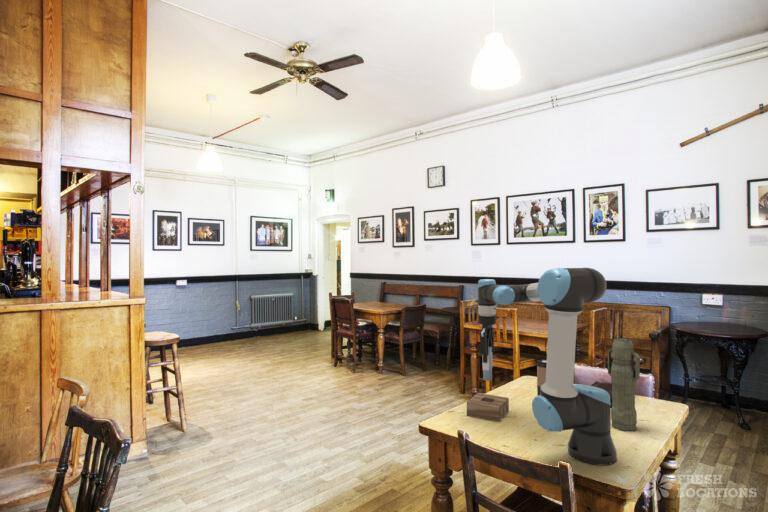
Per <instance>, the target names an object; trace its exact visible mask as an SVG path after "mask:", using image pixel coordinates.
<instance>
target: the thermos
mask: <svg viewBox="0 0 768 512" xmlns="http://www.w3.org/2000/svg"><path fill="white" fill-rule="evenodd" d="M611 347H612V348H610V349H608V350H607V353H606V354H607V357H606V358H607V374H608V375H609V376H610V383H612V408H611V427H612V428H613V429H615V430H617V429H618V431H621V432H626V431H633V432H636V431H637V418H638V416H637V415H638V413H637V409H636V394H635V393H636V389H635V388H636V385H637V380H639V379H640V378H641V375H640V370H641V368H640V367H641V365H640V364H641V357H640V355H639V354H638V353H637V352H635V347H634V343H633V341H632V340H631V339H630V338H626V337H625V338H623V337H617V338H615V339H613V342H612V346H611ZM634 361H635V363H634ZM635 430H636V431H635Z"/></svg>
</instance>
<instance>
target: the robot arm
mask: <svg viewBox="0 0 768 512" xmlns="http://www.w3.org/2000/svg"><path fill="white" fill-rule="evenodd" d="M477 283H478V284H477V313H478V315H477V317H478V320H477V323H478V324H479V325H481V326H482V327H481V329H480V330H481V331H479V332H478V334H479V346H480V348H479V350H480V352H479V353H480V355H481V356H482V371H483V370H489V355H488V348H489V347H492V354H495V327H493V325H494V326H495V325H496V324H497V316H496V314H497V310H498V307H497V305H498V304H499V305H501V306H503V305H504V306H508V305H510V304H518V303H519V304H522V303H536V302H537V303H538V302H541V303H542V304H543V305H544V306H543V307H544V309H545V311H547V313H548V328H547V330H548V331H547V345H546V346H547V347H546V348H547V349H546V359H547V364H546V382H545V383H544V384H543V385H541V390H540V395H538V394H537V395H536V396H534V398H533V399H532V402H531V409H532V413H533V416H534V418H535V420H536V423H537V424H538V425H539V426H540V427H541V428H542V429H543V430H545V431H546V432H549V433H553V432H554V433H555V432H557V433H560V432H562V431H567V430H572V432H571V434H570V438H569V441H568V443H567V453H568V455H570V456H571V457H572V458H574V459H575V460H578V461H580V462H584V463H586V464H590V463H591V465H596V464H608V465H611V464H610V463H612V464H614V463H616V462H615V461H617V459H618V458H617V457H618V456H617V455H618V454H617V450H616V447H615V444H614V441H613V438H612V432H611V429H612V428H611V427H612V420H611V403H610V395H609V393H608V392H607V391H605V390H603V389H601V388H598V387H594V386H591V385H589V384H588V385H587V384H581V383H579V384H574V383H575V380H574V379H575V364H576V363H575V362H576V348H577V347H576V343H577V328H578V327H577V326H578V325H577V324H578V316H579V315H581V313H582V312H583V311H584V304H586V303H587V304H589V303H594V302H596V301H598V300H600V299H602V297H603V296H604V294H606V291H607V280H606V278H605V276H604V275H603V274H602V273H601V272H600V271H598V270H597V269H595V268H591V267H557V268H551V269H548V270H546V271H544V273H543V274H541V275H540V278H539V279H538V282H533V283H527V284H507V285H504V284H503V285H501V284H499V285H497V283H496V280H495V279H492V278H491V279H489V278H485V279H483V278H482V279H479V280H478V281H477ZM613 462H614V463H613Z"/></svg>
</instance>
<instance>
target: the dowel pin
mask: <svg viewBox="0 0 768 512" xmlns="http://www.w3.org/2000/svg"><path fill="white" fill-rule="evenodd" d="M488 355H489V370H483V369H482V372H483V373H482V374H483V375H482V376H483V380H484V381H492V380H493V379H492V377H493V375H492V372H493V353H492V347H489V348H488Z"/></svg>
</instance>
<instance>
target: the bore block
mask: <svg viewBox="0 0 768 512" xmlns="http://www.w3.org/2000/svg"><path fill="white" fill-rule="evenodd" d="M509 408H510V400H509V397H506V396H500V395H494V394H487V393H481V392H477V393H475V394H474V395H473V396H472V397H470V399H468V400H467V401H466V417H471V418H477V419H483V420H486V421H492V422H497V423H500V422H501V421H502V420H503V419H504V417H505V416H506V415H507V414H508V413H509V411H510V409H509Z"/></svg>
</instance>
